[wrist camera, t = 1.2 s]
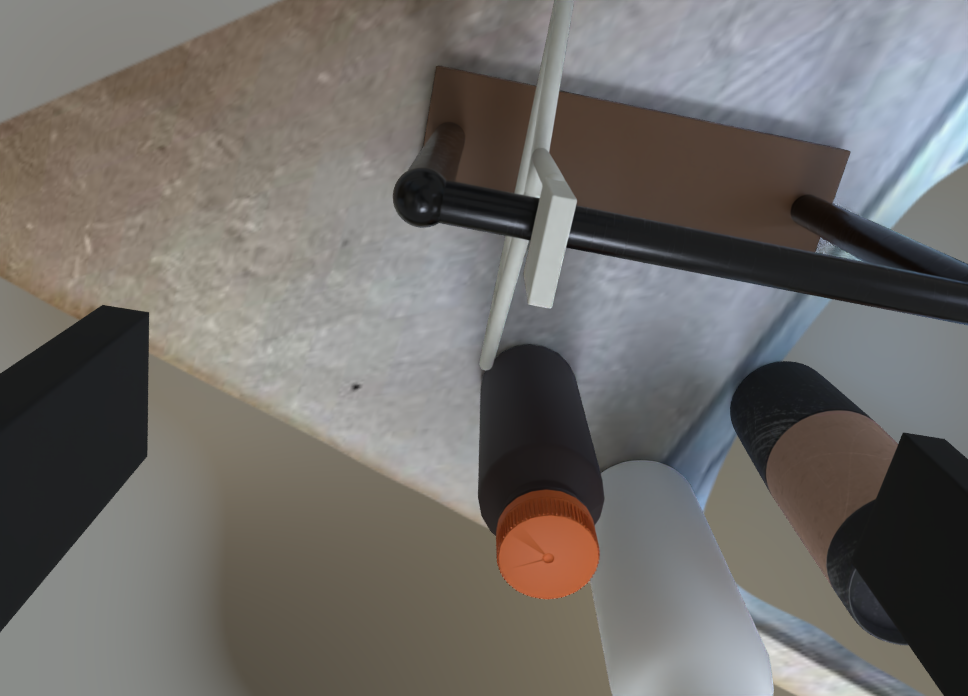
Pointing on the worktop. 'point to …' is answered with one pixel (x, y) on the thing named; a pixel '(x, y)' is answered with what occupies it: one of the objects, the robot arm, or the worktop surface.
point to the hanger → (543, 183)
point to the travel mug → (818, 472)
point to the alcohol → (669, 594)
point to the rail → (670, 196)
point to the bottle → (538, 473)
